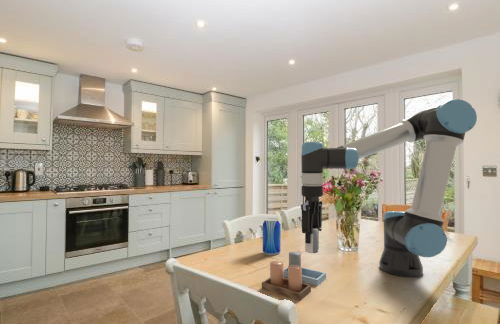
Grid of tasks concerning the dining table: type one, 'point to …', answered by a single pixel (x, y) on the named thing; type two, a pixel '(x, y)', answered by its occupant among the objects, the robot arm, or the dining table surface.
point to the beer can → (271, 236)
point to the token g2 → (315, 240)
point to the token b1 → (294, 258)
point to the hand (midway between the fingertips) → (312, 250)
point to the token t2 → (295, 278)
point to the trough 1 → (284, 291)
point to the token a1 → (276, 273)
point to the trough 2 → (309, 276)
